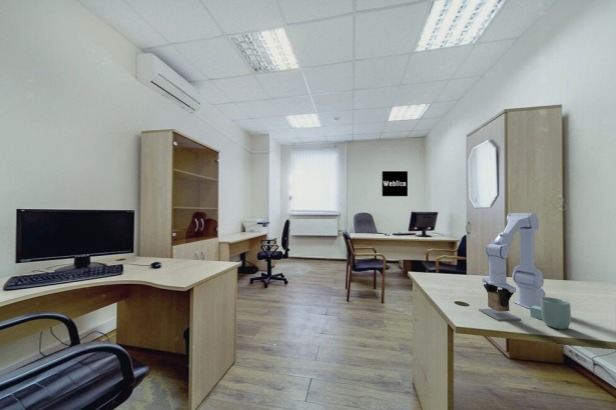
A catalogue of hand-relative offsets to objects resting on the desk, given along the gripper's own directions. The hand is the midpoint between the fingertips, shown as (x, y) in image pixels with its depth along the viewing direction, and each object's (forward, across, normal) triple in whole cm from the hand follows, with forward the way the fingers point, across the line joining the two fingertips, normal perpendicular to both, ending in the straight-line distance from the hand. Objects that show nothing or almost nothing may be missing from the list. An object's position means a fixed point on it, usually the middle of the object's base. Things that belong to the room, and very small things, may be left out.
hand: (498, 303), depth 100 cm
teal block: (+5, +3, +15) cm, 16 cm away
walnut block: (+2, 0, 0) cm, 2 cm away
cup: (+5, +11, +13) cm, 18 cm away
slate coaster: (+5, 0, 0) cm, 5 cm away
